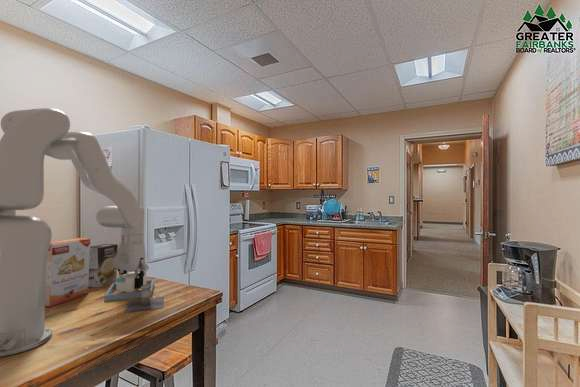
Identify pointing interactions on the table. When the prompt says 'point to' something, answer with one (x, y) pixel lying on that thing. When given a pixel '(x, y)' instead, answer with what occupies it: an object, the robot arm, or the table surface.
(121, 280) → the collar
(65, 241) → the cracker box
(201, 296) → the table surface
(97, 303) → the table surface
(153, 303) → the board
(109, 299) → the tray
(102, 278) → the coffee box
